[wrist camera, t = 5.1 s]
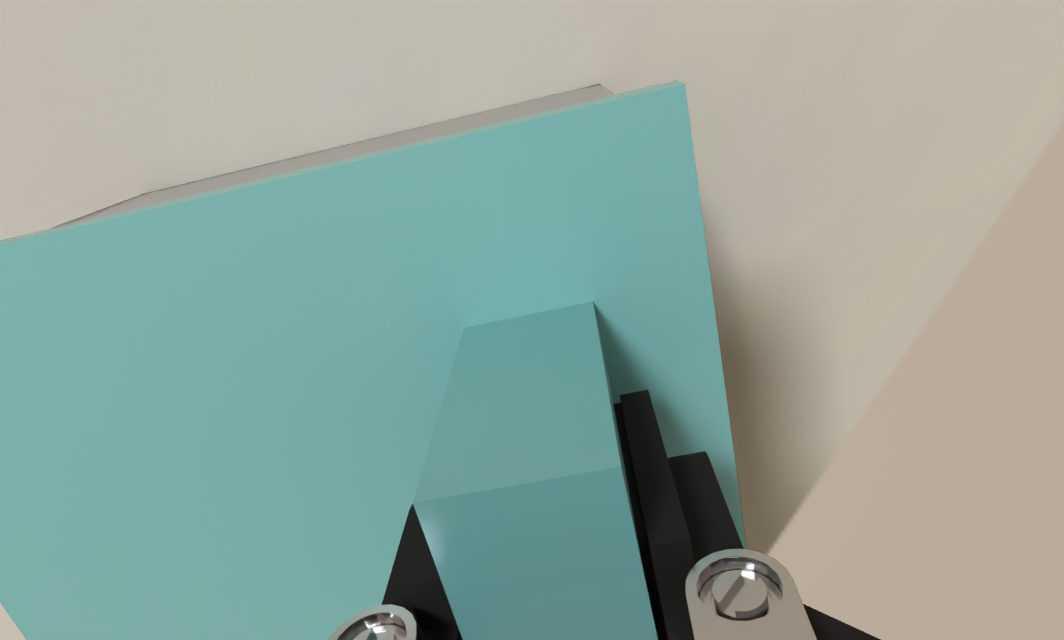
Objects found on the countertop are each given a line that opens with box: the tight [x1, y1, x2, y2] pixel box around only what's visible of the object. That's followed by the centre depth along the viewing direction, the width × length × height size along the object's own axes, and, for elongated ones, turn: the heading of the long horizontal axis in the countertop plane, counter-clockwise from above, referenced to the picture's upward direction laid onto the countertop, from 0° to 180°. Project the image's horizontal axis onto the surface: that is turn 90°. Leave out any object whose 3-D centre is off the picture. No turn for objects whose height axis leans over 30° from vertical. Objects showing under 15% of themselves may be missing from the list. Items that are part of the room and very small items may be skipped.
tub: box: [50, 84, 615, 229], centre depth 21 cm, size 16×12×7 cm
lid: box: [0, 81, 747, 640], centre depth 12 cm, size 17×13×7 cm
